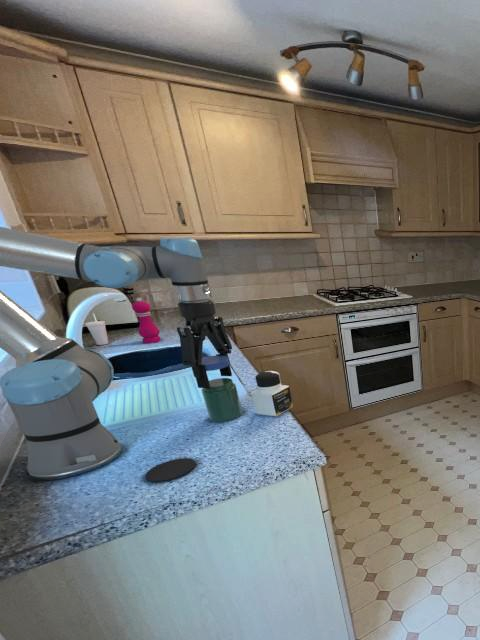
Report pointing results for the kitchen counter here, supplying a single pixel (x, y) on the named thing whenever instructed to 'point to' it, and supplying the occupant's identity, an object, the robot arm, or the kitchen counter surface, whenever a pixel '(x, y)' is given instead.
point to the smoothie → (98, 331)
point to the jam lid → (215, 362)
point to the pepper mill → (146, 322)
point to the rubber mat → (170, 470)
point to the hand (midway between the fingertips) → (215, 381)
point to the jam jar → (222, 400)
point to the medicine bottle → (271, 395)
